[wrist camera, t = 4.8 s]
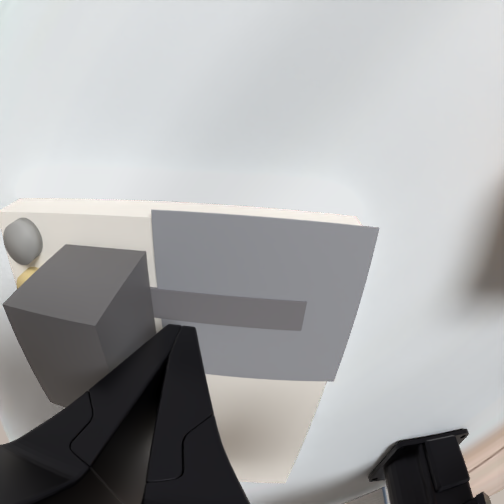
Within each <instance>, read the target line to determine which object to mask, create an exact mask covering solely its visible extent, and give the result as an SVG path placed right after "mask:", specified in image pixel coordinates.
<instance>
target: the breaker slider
mask: <svg viewBox="0 0 504 504" xmlns="http://www.w3.org/2000/svg"><path fill="white" fill-rule="evenodd" d="M3 307H4V309H5V312H6V314H7V317H8V319H9V321H10V324H11V326H12V328H13V331H14V333H15V335H16V337H17V340H18V342H19V344H20V346H21V348H22V350H23V352H24V354H25V356H26V358H27V360H28V362H29V364H30V366H31V368H32V370H33V372H34V374H35V376H36V378H37V379H38V381H39V383H40V385H41V387H42V388H43V390H44V392H45V393H46V395H47V397H48V399H49V400H50V402H52V403H55V404H58V405H60V406H63V407H67V406H69V405H70V404H71V403H73V402H74V401H75V400H76V399H78V398H79V397H80V396H81V395H83V394H84V393H85V392H86V391H88V392H89V389H90V388H91V387H92V386H94V385H95V384H96V383H97V382H98V381H100V380H101V379H102V378H103V377H105V376H106V375H107V374H108V373H109V372H111V371H112V370H113V369H114V368H115V367H117V366H118V365H119V364H120V363H121V362H123V361H124V360H125V359H126V358H128V357H129V356H130V355H131V354H132V353H134V352H135V351H136V350H137V349H138V348H140V347H141V346H142V345H143V344H144V343H146V342H147V341H148V340H149V339H150V338H152V337H153V336H154V335H155V334H157V333H156V326H155V320H154V313H153V306H152V298H151V291H150V282H149V274H148V265H147V255H146V251H138V250H126V249H115V248H104V247H92V246H81V245H70V244H65V245H64V246H63V247H62V248H61V249H60V250H58V251H57V252H56V253H55V254H54V255H53V256H52V257H51V258H50V259H48V260H47V261H46V262H45V263H44V264H43V265H42V266H41V267H40V268H39V269H38V270H37V271H36V272H35V273H33V274H32V275H31V276H30V277H29V278H28V279H27V280H26V281H25V282H24V283H23V284H22V285H21V286H20V287H19V288H18V289H17V290H16V291H15V292H14V293H13V294H12V295H11V296H10V297H9V298H8V299H7V300H6V301H5V302H4V303H3Z"/></svg>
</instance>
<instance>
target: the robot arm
mask: <svg viewBox="0 0 504 504" xmlns="http://www.w3.org/2000/svg"><path fill="white" fill-rule="evenodd" d="M468 434H469V433H468V430H467V429H463V430H459V431H455V432H450V433H446V434H441V435H436V436H431V437H425V438H420V439H414V440H407V441H402V442H400V443H398V444H397V445H395V447H394V448H393V449H392V450H391V451H390V453H389V454H388V455H387V456H386V457H385V458H384V460H383V461H382V462H381V463H380V464H379V465H378V466H377V467H376V469H375V470H374V471H373V472H372V473H371V474H370V475H369V476H368V478H369V481H379V480H386V485H387V490H388V496H389V501H390V504H491V501H490V498H489V496H488V495H487V494H485V493H484V492H482V493H480V494H478V495H476V497H475V498H473V495H472V491H471V488H470V485H469V480H470V477H469V474H468V471H467V467H466V464H465V461H464V458H463V455H462V453H461V450H460V447H459V444H460V443H461V442H462V441H463V440H464V439H465V438H466V437H467V436H468ZM0 504H250V502H249V500H248V498H247V496H246V494H245V492H244V490H243V488H242V486H241V484H240V482H239V480H238V478H237V476H236V474H235V472H234V470H233V468H232V466H231V463H230V461H229V459H228V456H227V454H226V451H225V449H224V446H223V444H222V441H221V437H220V434H219V431H218V427H217V423H216V419H215V416H214V411H213V407H212V402H211V398H210V393H209V389H208V384H207V380H206V375H205V370H204V366H203V361H202V356H201V351H200V346H199V341H198V335H197V330H196V328H195V327H193V326H185V325H183V326H181V325H177V324H168V325H166V326H165V327H164V328H163V329H161V330H160V331H159V332H158V333H157V334H155V335H154V336H153V337H152V338H150V339H149V340H148V341H147V342H146V343H144V344H143V345H142V346H141V347H140V348H138V349H137V350H136V351H135V352H134V353H132V354H131V355H130V356H129V357H128V358H126V359H125V360H124V361H123V362H121V363H120V364H119V365H118V366H117V367H115V368H114V369H113V370H112V371H111V372H109V373H108V374H107V375H106V376H105V377H103V378H102V379H101V380H100V381H98V382H97V383H96V384H95V385H94V386H92V387H91V388H90V389H89V392H88V391H86V392H85V393H84V394H83V395H81V396H80V397H79V398H78V399H76V400H75V401H74V402H73V403H71V404H70V405H69V406H67V407H66V408H65V409H63V410H62V411H60V412H59V413H57V414H56V415H55V416H53V417H52V418H50V419H49V420H47V421H45V422H44V423H42V424H41V425H39V426H38V427H36V428H34V429H33V430H31V431H30V432H28V433H26V434H25V435H23V436H22V437H20V438H18V439H17V440H15V441H12V442H10V443H7V444H3V445H0Z"/></svg>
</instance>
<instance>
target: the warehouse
mask: <svg viewBox="0 0 504 504" xmlns="http://www.w3.org/2000/svg"><path fill="white" fill-rule="evenodd" d="M342 504H390V501H389V496H388V490H387V488H385V487H382V488H381V489H379V490H376V491H374V492H371V493H369V494H366V495H364V496H361V497H359V498H356V499H354V500H351V501H348V502H345V503H342Z"/></svg>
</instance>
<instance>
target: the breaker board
mask: <svg viewBox="0 0 504 504" xmlns="http://www.w3.org/2000/svg"><path fill="white" fill-rule="evenodd" d="M0 227H1V231H2V235H3V240H4V245H5V248H6V251H7V255H8V259H9V262H10V266H11V269H12V273H13V276H14V279H15V282H16V285H17V289H18V288H19V287H20V286H21V285H22V284H23V283H24V282H25V281H26V280H27V279H28V278H29V277H30V276H31V275H32V274H33V273H35V272H36V271H37V270H38V269H39V268H40V267H41V266H42V265H43V264H44V263H45V262H46V261H47V260H48V259H50V258H51V257H52V256H53V255H54V254H55V253H56V252H57V251H58V250H60V249H61V248H62V247H63V246H64V245H65V244H70V245H81V246H92V247H104V248H115V249H126V250H138V251H146V255H147V265H148V274H149V282H150V291H151V298H152V306H153V313H154V320H155V326H156V333H158V332H159V331H160V330H161V329H163V328H164V327H165V326H166V325H168V324H177V325H181V326H183V325H185V326H193V327H195V328H196V330H197V335H198V341H199V346H200V351H201V356H202V361H203V366H204V370H205V375H206V380H207V384H208V389H209V393H210V398H211V402H212V407H213V411H214V416H215V419H216V423H217V427H218V431H219V434H220V437H221V441H222V444H223V446H224V449H225V451H226V454H227V456H228V459H229V461H230V463H231V466H232V468H233V470H234V472H235V474H236V476H237V478H238V480H239V481H241V482H256V483H286V480H287V478H288V476H289V474H290V472H291V470H292V467H293V465H294V463H295V461H296V458H297V456H298V454H299V451H300V449H301V447H302V444H303V442H304V440H305V437H306V435H307V432H308V430H309V427H310V425H311V422H312V420H313V417H314V415H315V412H316V410H317V407H318V404H319V402H320V399H321V396H322V394H323V391H324V388H325V385H326V383H327V381H334V379H335V376H336V373H337V371H338V368H339V365H340V362H341V359H342V357H343V354H344V351H345V348H346V345H347V342H348V339H349V336H350V333H351V330H352V327H353V323H354V320H355V317H356V314H357V310H358V307H359V304H360V300H361V297H362V293H363V290H364V286H365V283H366V279H367V275H368V272H369V268H370V264H371V260H372V256H373V252H374V248H375V244H376V240H377V236H378V231H379V228H378V227H369V226H363V225H362V224H361V222H360V221H359V219H358V218H357V217H356V216H349V215H340V214H330V213H320V212H310V211H299V210H288V209H276V208H264V207H251V206H237V205H222V204H206V203H189V202H169V201H146V200H117V199H64V198H26V199H18V200H17V201H15V202H13V203H11V204H10V205H8V206H6V207H5V208H3V209H1V210H0Z"/></svg>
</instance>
